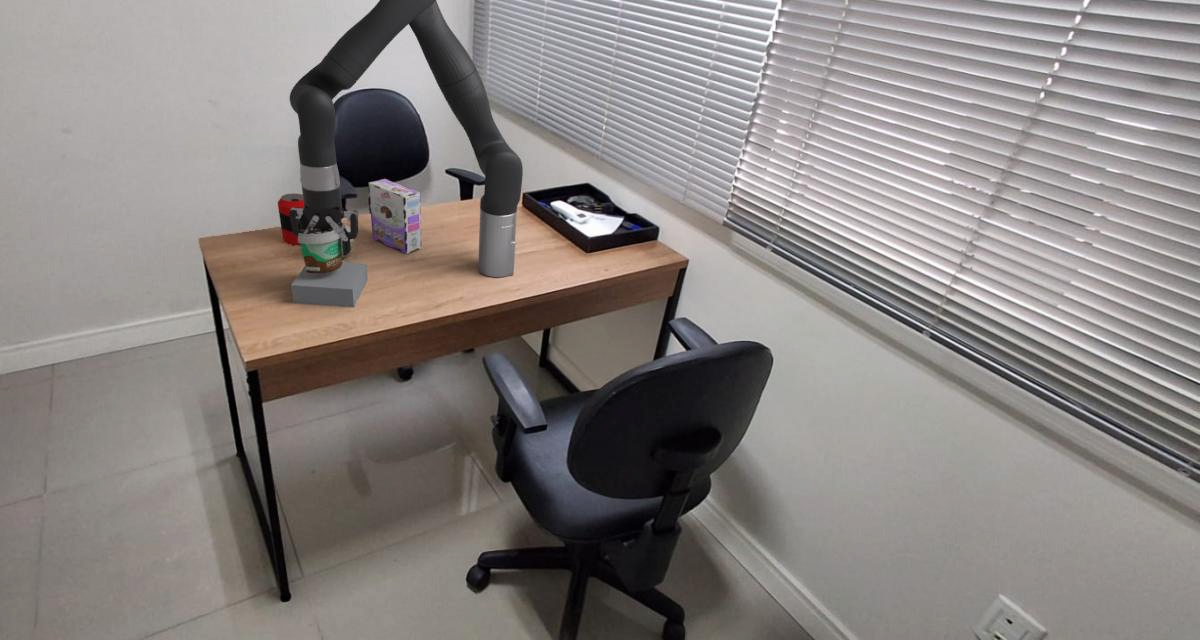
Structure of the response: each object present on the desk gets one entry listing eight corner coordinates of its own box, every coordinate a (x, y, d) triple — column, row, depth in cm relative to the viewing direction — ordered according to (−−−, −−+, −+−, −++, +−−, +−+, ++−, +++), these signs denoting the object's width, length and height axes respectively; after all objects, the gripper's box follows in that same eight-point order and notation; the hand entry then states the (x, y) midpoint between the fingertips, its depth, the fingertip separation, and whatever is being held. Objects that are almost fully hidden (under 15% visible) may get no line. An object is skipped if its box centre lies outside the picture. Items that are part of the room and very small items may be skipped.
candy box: (422, 248, 169) (421, 191, 161) (406, 255, 165) (403, 196, 156) (388, 233, 175) (385, 177, 166) (371, 238, 170) (367, 181, 162)
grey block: (367, 281, 151) (366, 263, 148) (354, 308, 140) (352, 289, 137) (312, 277, 149) (309, 259, 146) (293, 304, 138) (291, 285, 135)
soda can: (287, 247, 160) (280, 204, 153) (280, 236, 164) (273, 193, 158) (317, 243, 164) (312, 201, 158) (310, 232, 169) (305, 190, 163)
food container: (328, 281, 135) (323, 239, 130) (302, 275, 136) (296, 234, 131) (358, 258, 146) (354, 219, 141) (334, 253, 147) (330, 214, 141)
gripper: (359, 179, 135) (364, 248, 144) (289, 174, 132) (299, 244, 141) (352, 191, 129) (358, 262, 137) (279, 186, 126) (289, 259, 135)
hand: (328, 253), depth 139 cm, fingers closed on food container, 7 cm apart
